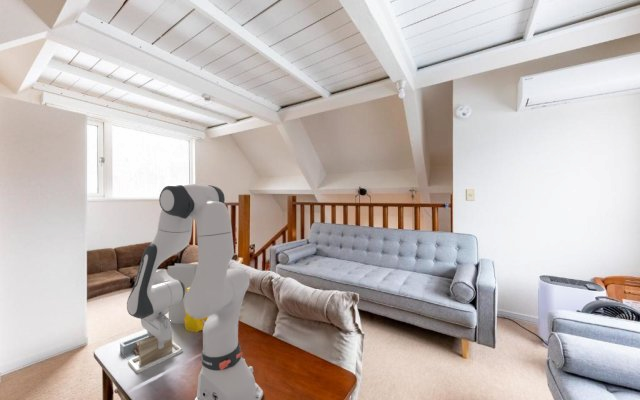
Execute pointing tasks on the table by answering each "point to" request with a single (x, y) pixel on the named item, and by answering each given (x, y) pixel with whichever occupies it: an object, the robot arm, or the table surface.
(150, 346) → the maple sheet
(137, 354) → the offcut
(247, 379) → the robot arm
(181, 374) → the table surface
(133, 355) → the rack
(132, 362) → the tray
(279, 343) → the table surface
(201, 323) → the figure statuette
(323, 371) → the table surface
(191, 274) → the grey tall block
